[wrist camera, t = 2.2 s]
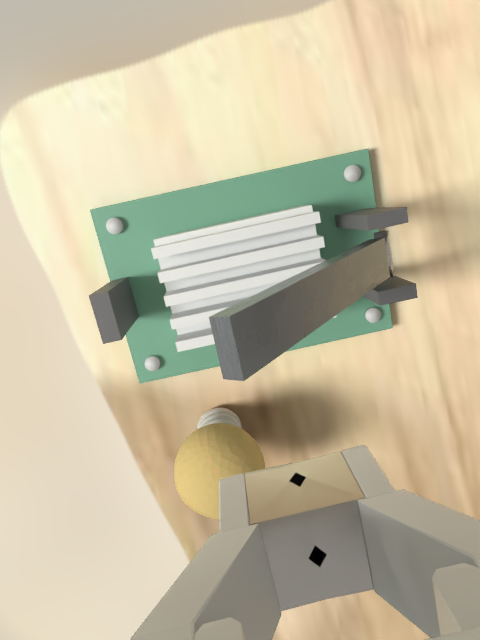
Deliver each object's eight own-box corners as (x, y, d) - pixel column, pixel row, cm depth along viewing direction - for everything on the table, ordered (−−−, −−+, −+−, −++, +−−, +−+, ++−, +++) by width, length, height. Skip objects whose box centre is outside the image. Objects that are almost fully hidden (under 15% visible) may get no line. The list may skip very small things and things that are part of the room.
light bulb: (206, 376, 37) (202, 433, 28) (270, 412, 39) (288, 480, 29) (168, 436, 39) (151, 511, 29) (231, 470, 40) (235, 553, 30)
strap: (375, 232, 29) (391, 229, 28) (382, 277, 30) (397, 275, 29) (207, 310, 17) (227, 309, 16) (224, 385, 17) (245, 387, 17)
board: (364, 150, 34) (411, 130, 26) (388, 325, 37) (437, 357, 29) (92, 209, 34) (53, 209, 26) (141, 379, 37) (119, 426, 29)
